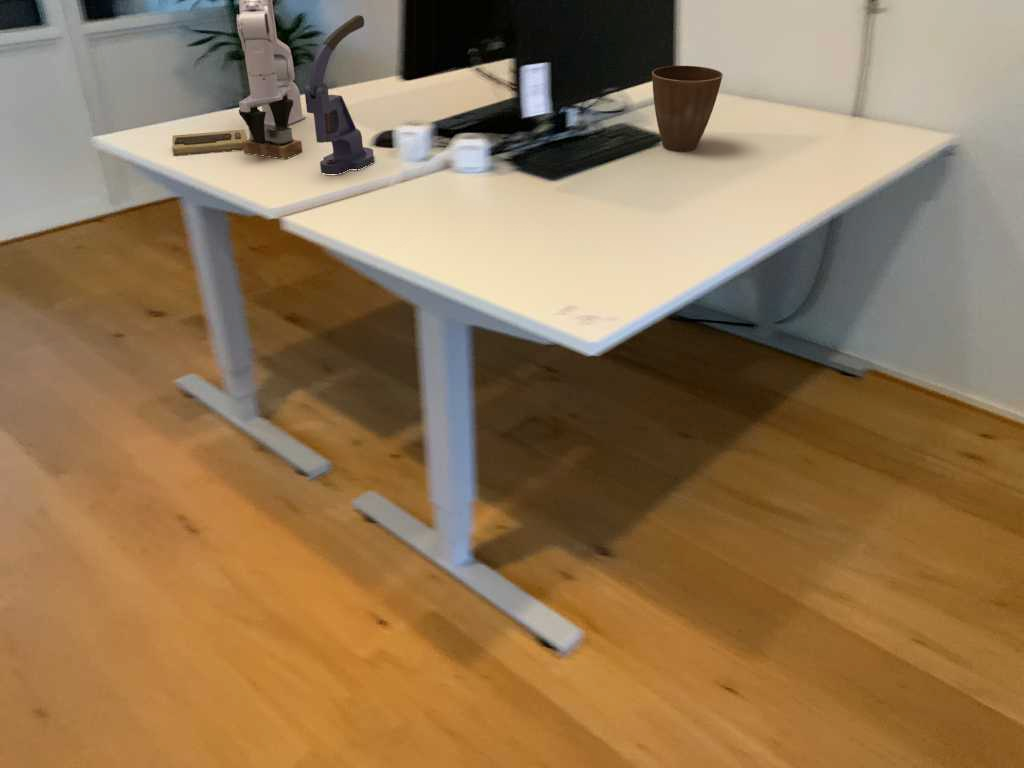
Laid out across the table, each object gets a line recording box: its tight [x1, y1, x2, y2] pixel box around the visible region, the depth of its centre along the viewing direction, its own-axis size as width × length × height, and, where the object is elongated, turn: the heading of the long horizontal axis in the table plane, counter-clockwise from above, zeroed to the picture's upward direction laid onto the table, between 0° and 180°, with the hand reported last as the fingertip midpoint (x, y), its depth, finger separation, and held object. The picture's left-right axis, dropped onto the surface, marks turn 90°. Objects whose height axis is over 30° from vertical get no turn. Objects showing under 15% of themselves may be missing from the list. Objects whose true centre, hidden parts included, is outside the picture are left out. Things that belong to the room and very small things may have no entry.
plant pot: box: [651, 65, 724, 152], centre depth 187 cm, size 15×15×16 cm
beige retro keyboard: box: [171, 129, 248, 157], centre depth 188 cm, size 16×8×3 cm, turn 108°
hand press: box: [304, 14, 375, 174], centre depth 172 cm, size 19×9×28 cm, turn 155°
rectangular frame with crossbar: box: [243, 138, 303, 160], centre depth 185 cm, size 6×11×2 cm, turn 65°
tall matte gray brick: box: [248, 124, 294, 146], centre depth 185 cm, size 3×9×6 cm, turn 65°
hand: (271, 138), depth 185 cm, fingers open, 7 cm apart
